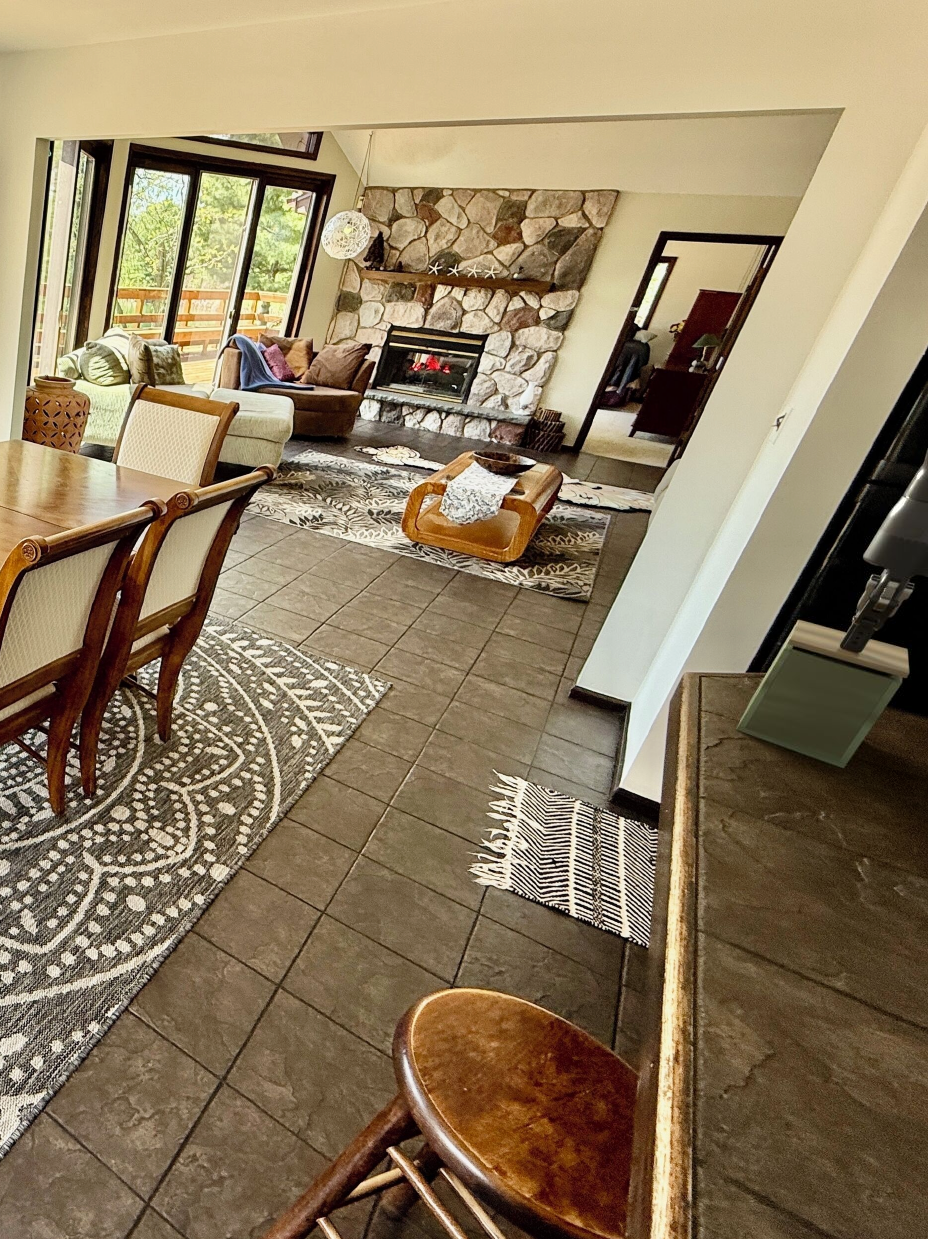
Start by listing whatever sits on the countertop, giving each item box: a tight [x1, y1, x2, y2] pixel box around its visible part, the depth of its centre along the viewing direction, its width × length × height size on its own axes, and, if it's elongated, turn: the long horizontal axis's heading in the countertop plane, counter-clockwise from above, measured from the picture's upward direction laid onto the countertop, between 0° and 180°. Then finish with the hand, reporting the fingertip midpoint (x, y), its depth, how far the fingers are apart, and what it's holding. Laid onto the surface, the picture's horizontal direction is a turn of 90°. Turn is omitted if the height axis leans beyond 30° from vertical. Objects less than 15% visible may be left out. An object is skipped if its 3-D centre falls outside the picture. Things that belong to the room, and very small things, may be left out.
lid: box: [787, 619, 910, 679], centre depth 108 cm, size 16×12×1 cm
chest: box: [735, 625, 903, 769], centre depth 112 cm, size 16×12×14 cm
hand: (849, 649), depth 106 cm, fingers closed
